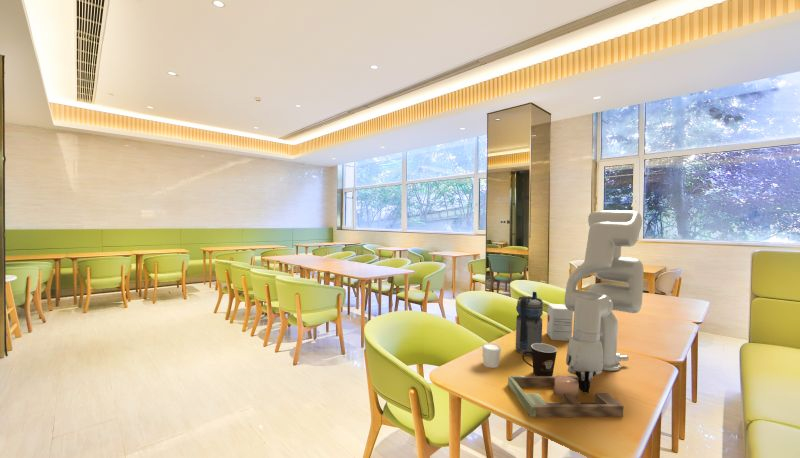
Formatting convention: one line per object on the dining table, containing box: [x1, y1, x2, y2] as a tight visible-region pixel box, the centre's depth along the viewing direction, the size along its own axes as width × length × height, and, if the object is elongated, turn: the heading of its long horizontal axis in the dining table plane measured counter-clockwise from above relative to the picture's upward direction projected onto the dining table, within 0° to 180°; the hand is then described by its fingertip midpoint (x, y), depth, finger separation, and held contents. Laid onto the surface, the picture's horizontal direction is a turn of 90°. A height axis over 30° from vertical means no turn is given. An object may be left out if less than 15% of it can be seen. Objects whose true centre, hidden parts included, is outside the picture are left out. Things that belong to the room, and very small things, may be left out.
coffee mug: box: [521, 343, 558, 376], centre depth 124 cm, size 12×9×10 cm
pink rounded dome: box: [553, 375, 580, 401], centre depth 111 cm, size 7×7×4 cm
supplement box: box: [546, 303, 574, 342], centre depth 163 cm, size 9×9×15 cm
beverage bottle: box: [515, 291, 544, 357], centre depth 143 cm, size 10×13×25 cm
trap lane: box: [507, 374, 625, 418], centre depth 108 cm, size 27×18×3 cm
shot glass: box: [481, 343, 502, 369], centre depth 132 cm, size 7×7×7 cm
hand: (583, 390), depth 111 cm, fingers closed
